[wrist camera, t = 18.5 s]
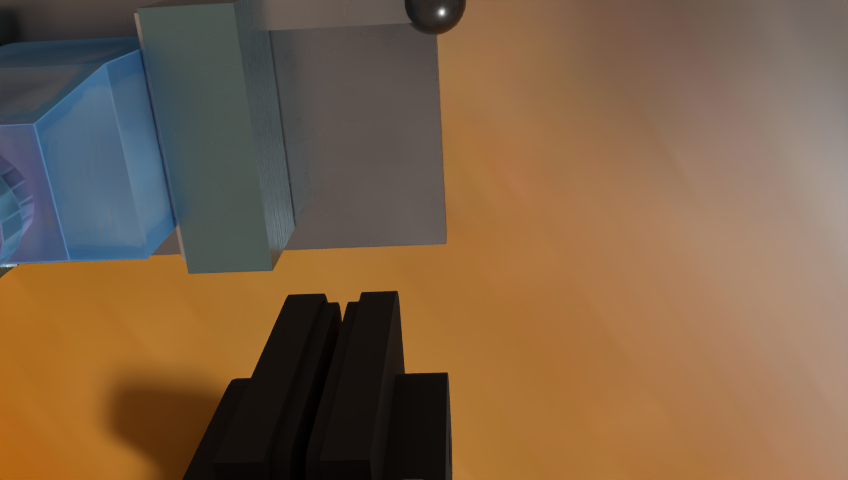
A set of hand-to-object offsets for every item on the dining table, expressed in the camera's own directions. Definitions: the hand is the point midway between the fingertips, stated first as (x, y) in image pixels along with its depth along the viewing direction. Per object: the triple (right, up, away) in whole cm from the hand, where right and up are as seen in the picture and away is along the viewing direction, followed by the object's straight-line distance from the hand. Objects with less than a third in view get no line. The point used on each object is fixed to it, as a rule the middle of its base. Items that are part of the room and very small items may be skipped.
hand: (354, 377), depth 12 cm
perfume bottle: (-11, +7, +17) cm, 22 cm away
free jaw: (-3, +7, +17) cm, 18 cm away
